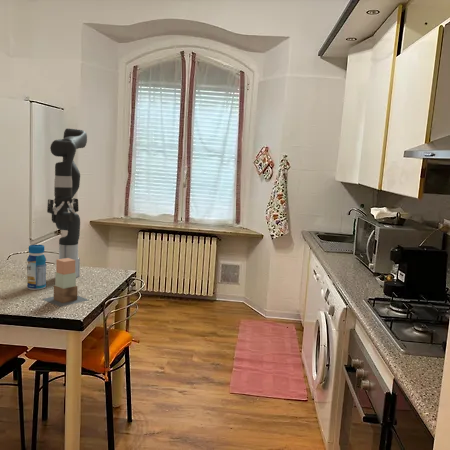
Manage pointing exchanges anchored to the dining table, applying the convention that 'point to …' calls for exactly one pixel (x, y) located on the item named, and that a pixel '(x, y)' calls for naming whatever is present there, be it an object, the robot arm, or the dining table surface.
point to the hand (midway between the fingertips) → (63, 222)
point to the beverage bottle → (36, 268)
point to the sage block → (65, 280)
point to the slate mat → (79, 299)
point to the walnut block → (65, 294)
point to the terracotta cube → (65, 266)
